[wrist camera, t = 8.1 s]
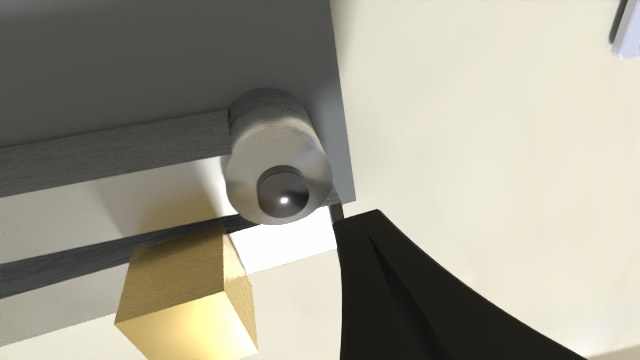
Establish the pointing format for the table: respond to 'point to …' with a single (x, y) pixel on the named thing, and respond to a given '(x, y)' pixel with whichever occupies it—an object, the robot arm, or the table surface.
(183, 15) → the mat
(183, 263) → the collar
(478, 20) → the table surface
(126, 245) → the tongs fixed
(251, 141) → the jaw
